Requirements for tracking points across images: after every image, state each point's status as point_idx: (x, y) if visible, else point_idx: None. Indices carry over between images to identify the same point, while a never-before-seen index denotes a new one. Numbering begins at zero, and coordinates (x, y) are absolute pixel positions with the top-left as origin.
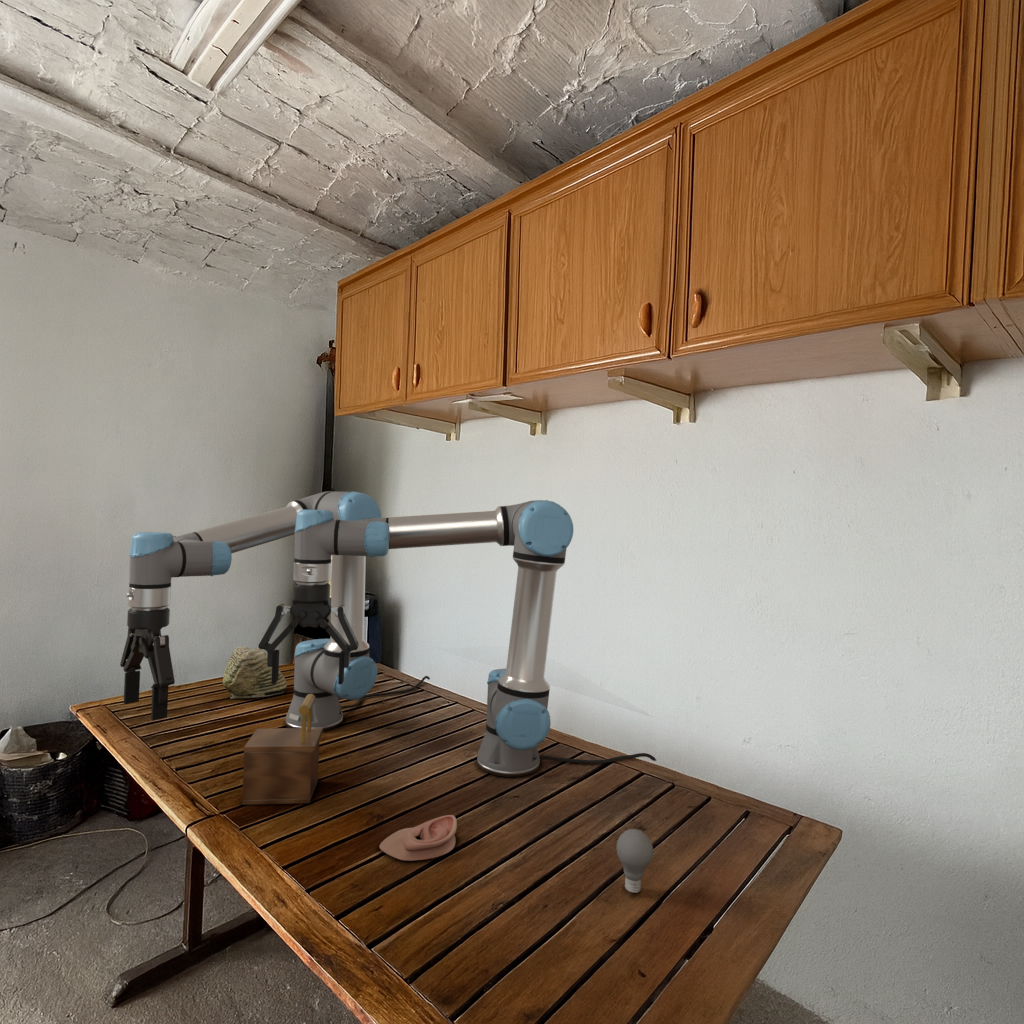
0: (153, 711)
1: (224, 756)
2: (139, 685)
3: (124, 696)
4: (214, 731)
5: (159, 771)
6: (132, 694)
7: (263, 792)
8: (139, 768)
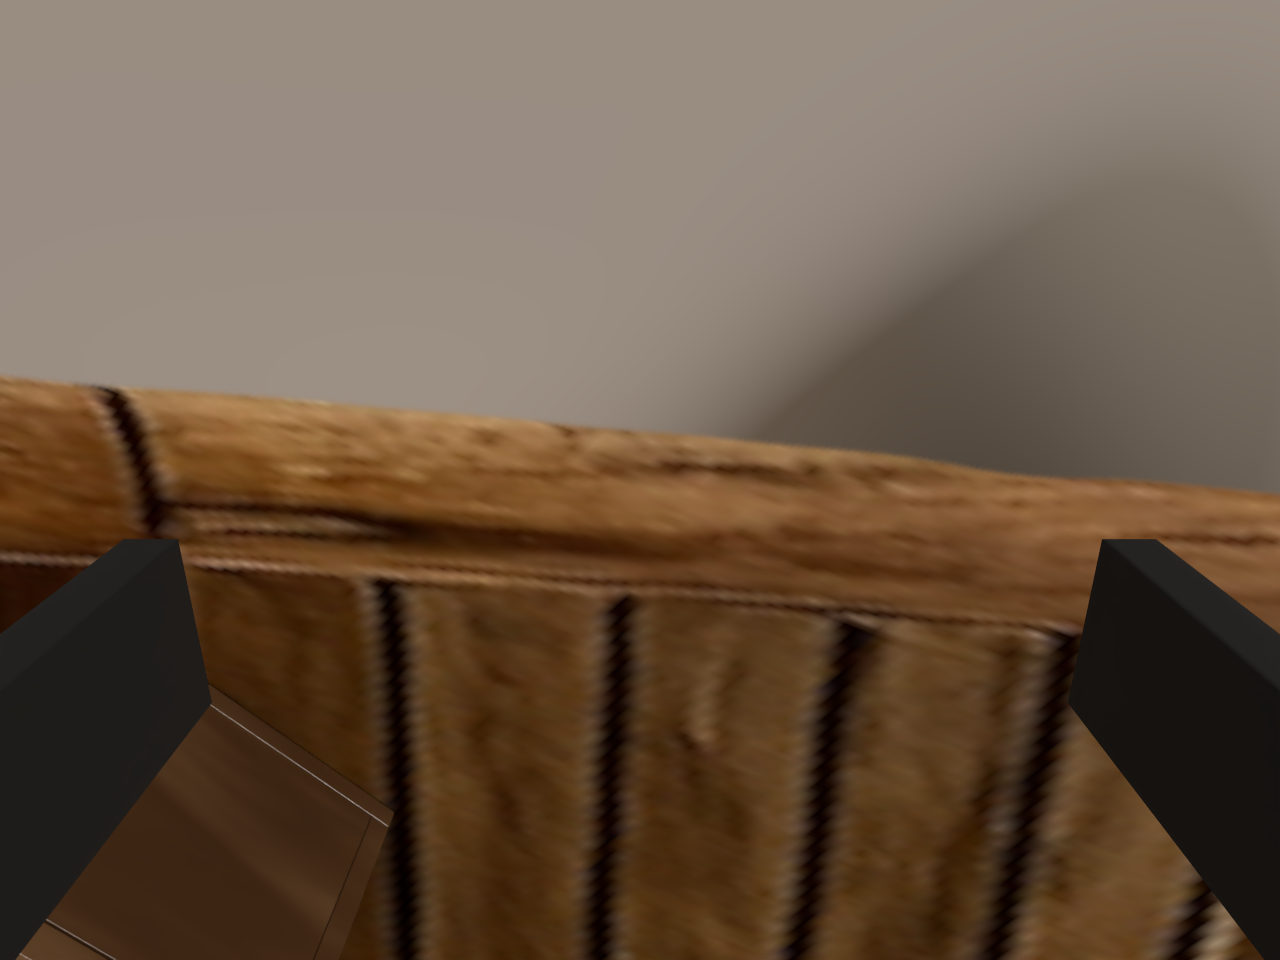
0: (46, 609)
1: (819, 851)
2: (1211, 885)
3: (1197, 592)
4: (1190, 956)
5: (905, 554)
6: (1155, 700)
7: None
8: (1043, 494)
